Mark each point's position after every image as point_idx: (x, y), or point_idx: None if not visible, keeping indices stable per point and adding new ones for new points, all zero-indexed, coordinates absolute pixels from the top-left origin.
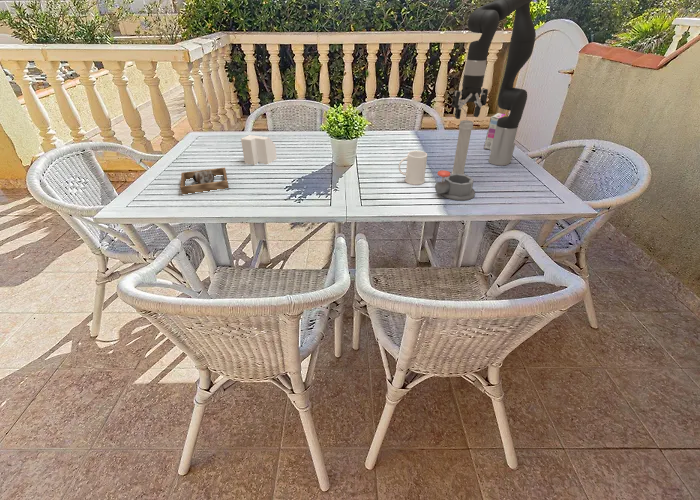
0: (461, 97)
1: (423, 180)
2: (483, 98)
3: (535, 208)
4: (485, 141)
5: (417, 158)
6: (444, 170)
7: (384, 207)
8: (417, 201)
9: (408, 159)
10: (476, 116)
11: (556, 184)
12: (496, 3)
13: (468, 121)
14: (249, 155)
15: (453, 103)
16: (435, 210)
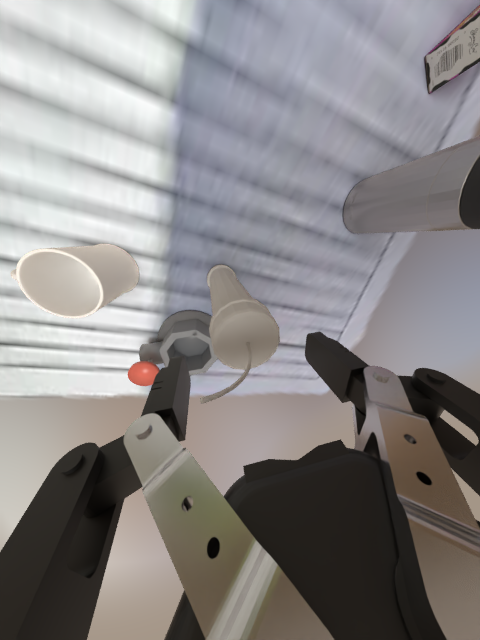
0: (180, 570)
1: (130, 288)
2: (462, 465)
3: (276, 387)
4: (458, 30)
5: (63, 315)
6: (148, 365)
7: (34, 372)
8: (106, 358)
9: (36, 287)
10: (307, 358)
11: (359, 331)
12: None
13: (259, 339)
14: None
15: (61, 501)
16: (134, 385)
